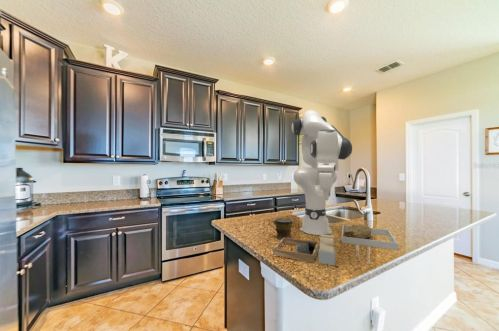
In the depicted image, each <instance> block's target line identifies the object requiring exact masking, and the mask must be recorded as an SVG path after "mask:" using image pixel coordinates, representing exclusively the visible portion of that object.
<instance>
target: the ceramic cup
mask: <svg viewBox="0 0 499 331" xmlns="http://www.w3.org/2000/svg"><path fill="white" fill-rule="evenodd" d="M293 221H294V220H293V219H292V218H289V217H277V218H274V220H270V221H269V223H268V225H269V226H270V227H272V228H273V229H274V231H276V235H277V239H279V238H280V239H279V240H282V239H283V238H291V233H292V227H293ZM271 222H272V223H273V224H274V226H273V225H272V224H271Z"/></svg>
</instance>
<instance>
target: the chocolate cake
mask: <svg viewBox="0 0 499 331" xmlns="http://www.w3.org/2000/svg"><path fill="white" fill-rule="evenodd" d="M306 241H307V244H299V245H296V246H295V252H298V253H304V254H310V255H312V254H313V252H314V249H315V247H316V246H315V245H314V244H312V243H311V242H309V241H310V240H306Z"/></svg>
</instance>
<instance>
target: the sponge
mask: <svg viewBox="0 0 499 331" xmlns="http://www.w3.org/2000/svg"><path fill="white" fill-rule="evenodd" d="M350 226H351V227H350V228H349V230H347V231H344V233H343V237H351V238H359V239H368V238H369V237H371V235H372V234H371V227H370V226H369V225H366V224H357V223H356V224H352V225H350Z"/></svg>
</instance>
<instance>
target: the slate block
mask: <svg viewBox="0 0 499 331" xmlns="http://www.w3.org/2000/svg"><path fill="white" fill-rule="evenodd" d="M317 255H318V264H320V263H323V264H322V265H326V264H328V266H331V265H334V266H333V267H335V265H336V247H334V251H333V252H326V251H320V247H319V250H318V253H317Z"/></svg>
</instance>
